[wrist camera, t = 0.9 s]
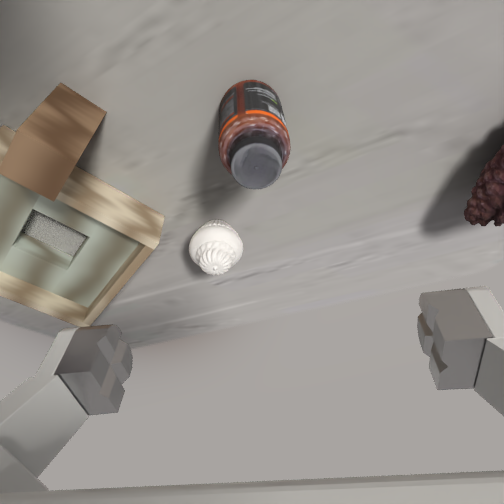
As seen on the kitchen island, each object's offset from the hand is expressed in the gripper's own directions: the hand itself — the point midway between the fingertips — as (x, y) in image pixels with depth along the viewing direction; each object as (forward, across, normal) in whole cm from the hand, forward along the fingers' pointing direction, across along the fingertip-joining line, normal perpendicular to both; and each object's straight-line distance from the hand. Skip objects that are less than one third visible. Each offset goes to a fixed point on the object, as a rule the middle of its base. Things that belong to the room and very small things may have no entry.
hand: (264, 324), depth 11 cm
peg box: (+32, +27, +14) cm, 44 cm away
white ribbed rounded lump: (+33, +9, +18) cm, 39 cm away
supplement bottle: (+32, +2, +5) cm, 33 cm away
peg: (+31, +19, +2) cm, 37 cm away
